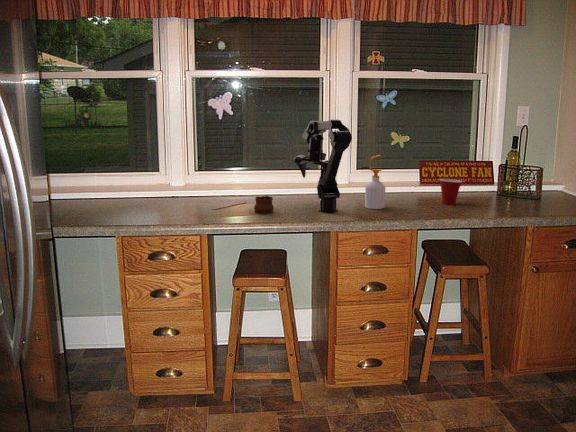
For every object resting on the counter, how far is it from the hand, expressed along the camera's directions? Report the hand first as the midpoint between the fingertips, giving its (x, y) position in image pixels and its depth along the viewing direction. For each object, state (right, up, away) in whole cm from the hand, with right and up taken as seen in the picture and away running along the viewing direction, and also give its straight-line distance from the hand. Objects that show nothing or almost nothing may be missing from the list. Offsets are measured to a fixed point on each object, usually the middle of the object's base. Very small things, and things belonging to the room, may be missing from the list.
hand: (312, 179), depth 260 cm
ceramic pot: (-23, -16, -16) cm, 32 cm away
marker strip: (-39, -13, -4) cm, 41 cm away
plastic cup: (+67, -12, +5) cm, 68 cm away
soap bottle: (+29, -14, -5) cm, 32 cm away
